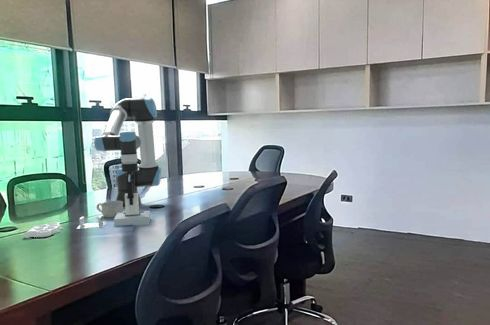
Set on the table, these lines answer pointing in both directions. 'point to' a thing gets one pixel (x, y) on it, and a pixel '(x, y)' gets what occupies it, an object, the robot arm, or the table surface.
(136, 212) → the plug
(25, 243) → the table surface
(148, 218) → the switch box
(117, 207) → the teacup
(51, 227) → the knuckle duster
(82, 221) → the holster
